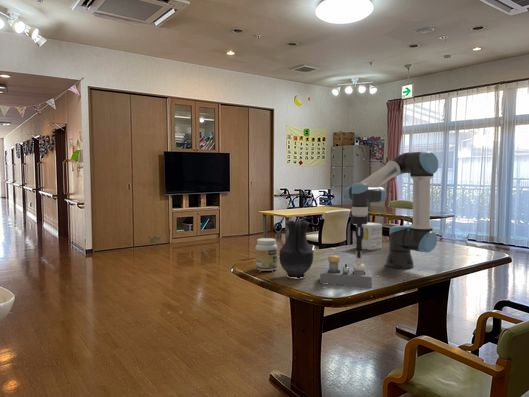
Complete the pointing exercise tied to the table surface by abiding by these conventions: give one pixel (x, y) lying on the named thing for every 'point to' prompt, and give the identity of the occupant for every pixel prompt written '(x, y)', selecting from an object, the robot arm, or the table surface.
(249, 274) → the table surface
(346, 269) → the potentiometer
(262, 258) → the supplement tub
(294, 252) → the pitcher
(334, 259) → the knob
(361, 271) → the knob
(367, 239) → the white canister
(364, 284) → the mount
